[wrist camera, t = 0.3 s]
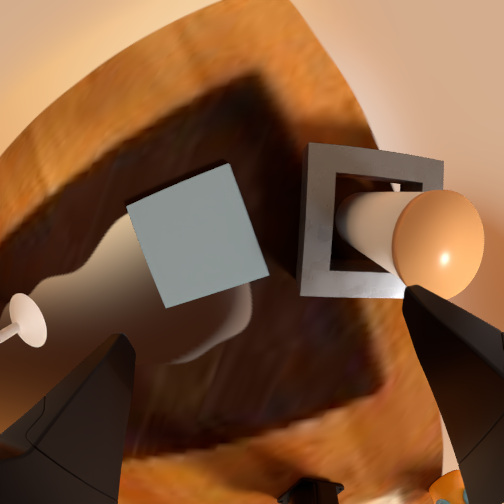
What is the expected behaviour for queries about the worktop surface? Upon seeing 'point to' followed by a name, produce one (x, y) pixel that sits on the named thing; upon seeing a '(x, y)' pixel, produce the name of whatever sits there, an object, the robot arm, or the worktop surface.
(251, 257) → the pad
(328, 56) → the worktop surface
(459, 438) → the robot arm
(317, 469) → the worktop surface
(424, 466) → the worktop surface
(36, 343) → the champagne flute
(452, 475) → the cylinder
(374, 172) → the frame
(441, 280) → the plug
